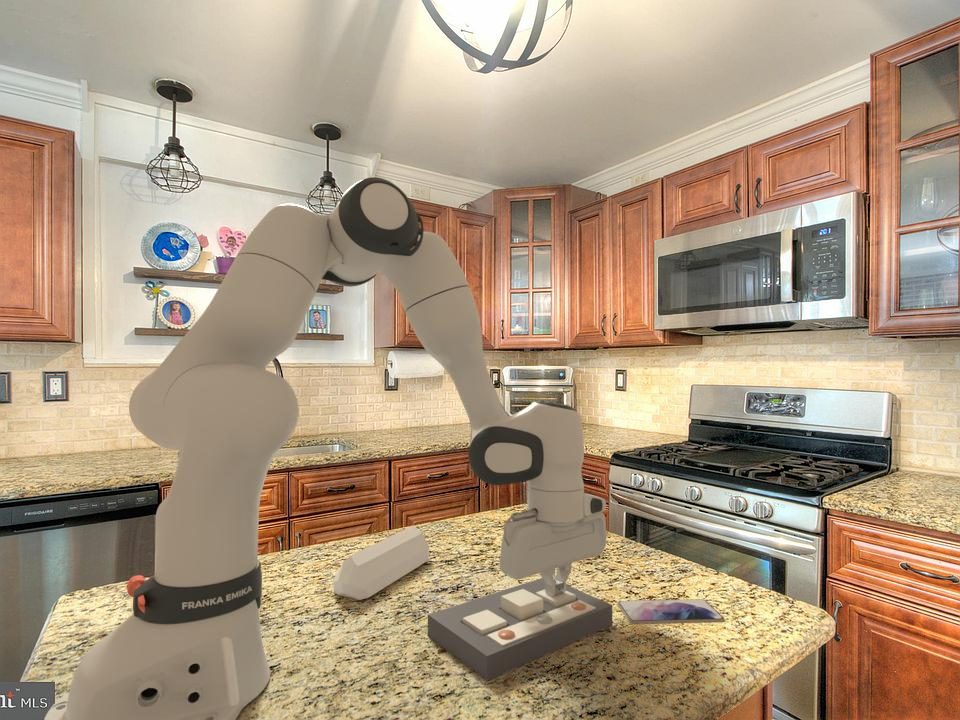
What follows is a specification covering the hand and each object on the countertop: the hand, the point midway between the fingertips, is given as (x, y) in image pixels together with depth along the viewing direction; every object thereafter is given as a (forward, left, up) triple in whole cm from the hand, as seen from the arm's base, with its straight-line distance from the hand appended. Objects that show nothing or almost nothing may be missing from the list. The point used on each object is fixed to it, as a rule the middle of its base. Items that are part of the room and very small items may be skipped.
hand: (555, 593), depth 82 cm
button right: (0, 0, -3) cm, 3 cm away
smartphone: (+16, -10, -4) cm, 19 cm away
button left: (-14, 0, -3) cm, 14 cm away
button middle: (-7, 0, -2) cm, 7 cm away
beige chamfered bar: (-14, +31, -4) cm, 34 cm away
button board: (-7, 0, -4) cm, 8 cm away
